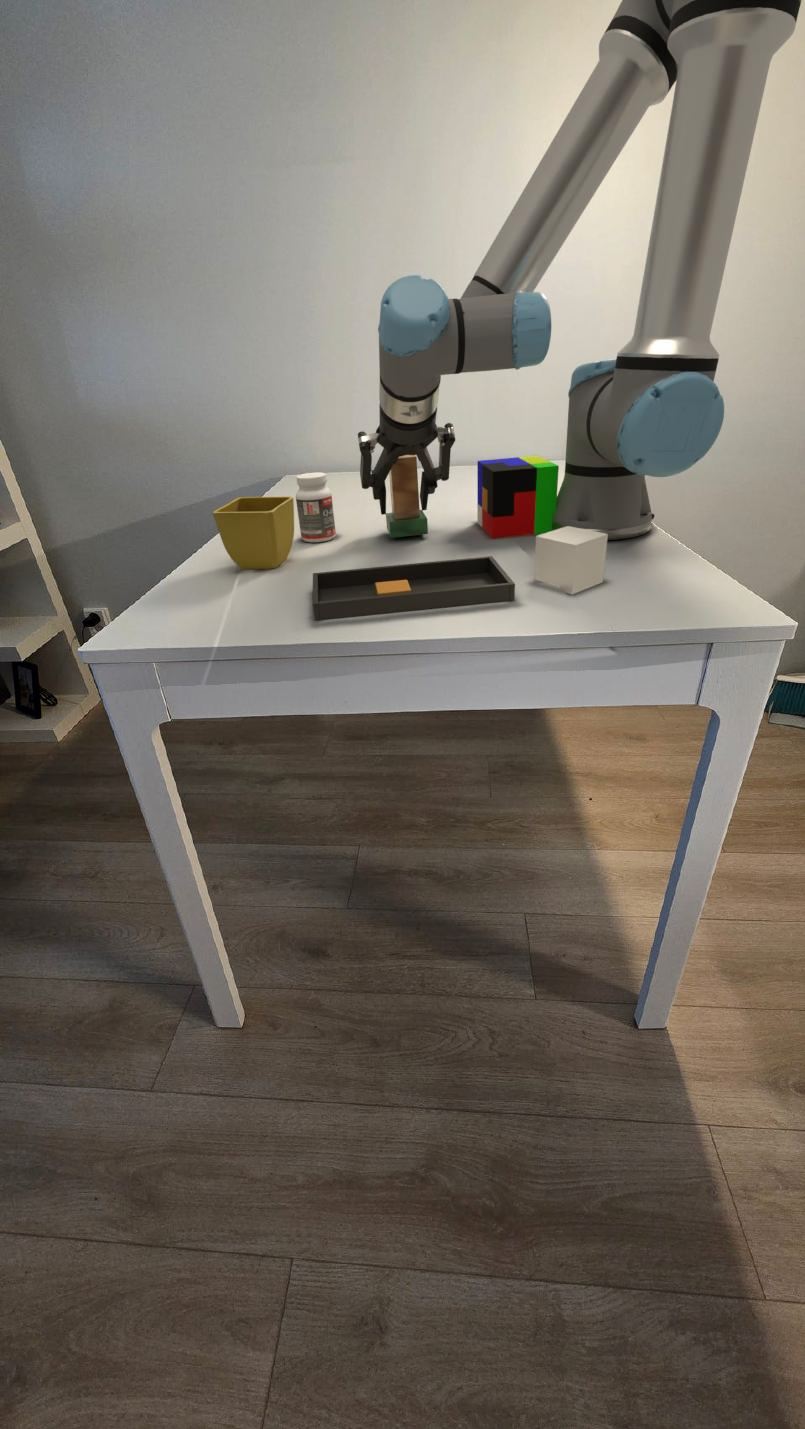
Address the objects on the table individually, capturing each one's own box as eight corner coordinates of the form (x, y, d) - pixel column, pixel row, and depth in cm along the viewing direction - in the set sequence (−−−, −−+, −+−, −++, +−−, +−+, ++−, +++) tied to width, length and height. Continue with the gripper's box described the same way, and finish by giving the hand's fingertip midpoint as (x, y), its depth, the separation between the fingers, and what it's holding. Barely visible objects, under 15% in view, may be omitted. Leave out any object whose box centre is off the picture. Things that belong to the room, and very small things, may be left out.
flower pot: (281, 577, 89) (271, 511, 85) (224, 576, 91) (210, 511, 86) (303, 557, 97) (294, 496, 92) (249, 557, 98) (238, 497, 94)
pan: (491, 575, 84) (491, 556, 83) (514, 605, 75) (515, 583, 74) (315, 592, 83) (312, 573, 81) (315, 625, 73) (312, 603, 72)
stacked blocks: (422, 524, 106) (418, 451, 101) (428, 534, 101) (424, 456, 95) (386, 528, 106) (380, 454, 100) (390, 538, 101) (384, 460, 95)
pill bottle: (334, 542, 103) (326, 477, 98) (299, 544, 103) (289, 479, 98) (338, 532, 108) (331, 470, 103) (304, 534, 108) (295, 473, 103)
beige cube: (533, 583, 81) (535, 536, 78) (564, 572, 84) (567, 525, 81) (572, 594, 77) (575, 544, 74) (603, 582, 80) (608, 533, 77)
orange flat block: (407, 588, 80) (407, 579, 80) (411, 599, 77) (411, 590, 76) (375, 591, 80) (375, 582, 79) (378, 602, 77) (377, 593, 76)
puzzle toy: (477, 523, 108) (477, 460, 103) (535, 518, 109) (537, 455, 104) (492, 539, 100) (493, 471, 95) (554, 533, 100) (558, 465, 95)
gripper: (338, 434, 81) (347, 531, 104) (485, 420, 82) (463, 519, 105) (332, 385, 83) (342, 490, 105) (476, 372, 84) (456, 479, 107)
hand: (402, 505), depth 105 cm, fingers closed on stacked blocks, 6 cm apart
